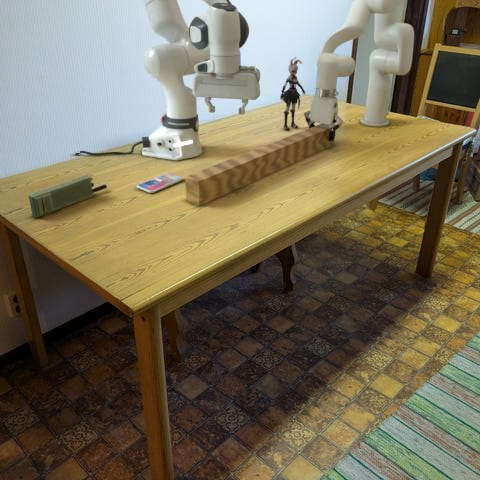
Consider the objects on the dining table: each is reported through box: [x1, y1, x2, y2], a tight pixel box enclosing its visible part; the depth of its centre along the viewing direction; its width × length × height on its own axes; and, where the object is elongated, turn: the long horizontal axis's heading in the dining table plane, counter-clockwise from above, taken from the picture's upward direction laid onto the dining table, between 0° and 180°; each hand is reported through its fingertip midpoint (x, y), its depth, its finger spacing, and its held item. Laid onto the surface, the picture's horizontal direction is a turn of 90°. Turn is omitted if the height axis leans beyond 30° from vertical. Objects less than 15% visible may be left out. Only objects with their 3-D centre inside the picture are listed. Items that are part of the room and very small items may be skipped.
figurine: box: [279, 56, 306, 132], centre depth 211 cm, size 15×6×30 cm, turn 132°
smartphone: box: [136, 172, 184, 194], centre depth 164 cm, size 7×1×15 cm
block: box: [184, 123, 335, 207], centre depth 175 cm, size 75×6×8 cm, turn 139°
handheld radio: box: [28, 173, 108, 219], centre depth 150 cm, size 7×3×25 cm
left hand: (226, 113), depth 153 cm, fingers open, 8 cm apart
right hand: (321, 137), depth 197 cm, fingers open, 8 cm apart
